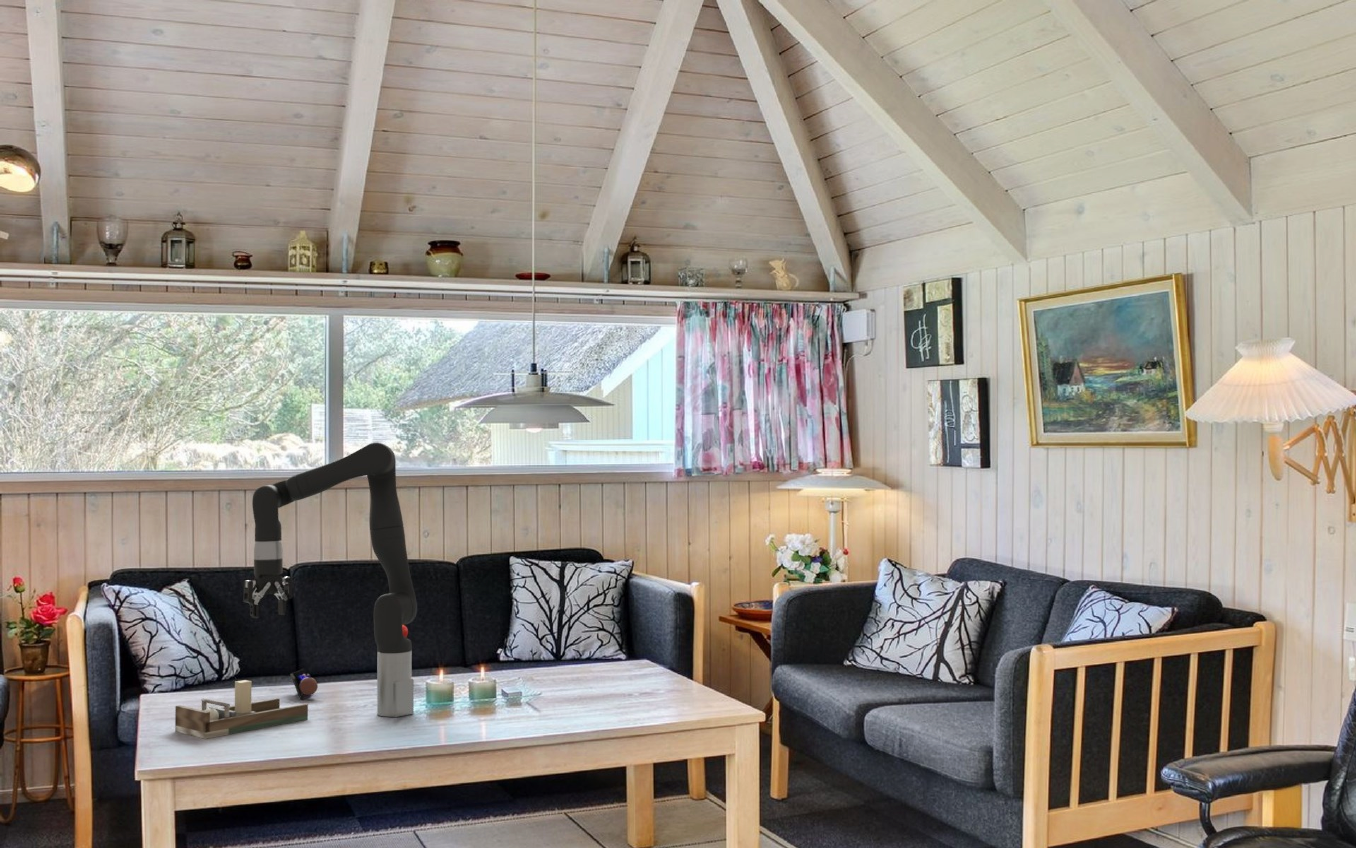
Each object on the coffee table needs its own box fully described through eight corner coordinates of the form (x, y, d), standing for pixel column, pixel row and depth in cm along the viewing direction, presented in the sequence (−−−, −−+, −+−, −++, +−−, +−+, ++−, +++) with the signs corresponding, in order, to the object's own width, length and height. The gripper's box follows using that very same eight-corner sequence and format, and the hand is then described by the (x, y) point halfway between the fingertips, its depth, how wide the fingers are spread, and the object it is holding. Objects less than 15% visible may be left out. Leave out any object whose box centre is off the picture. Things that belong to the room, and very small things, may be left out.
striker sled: (261, 719, 325) (261, 682, 326) (231, 724, 319) (232, 687, 319) (238, 714, 332) (238, 678, 332) (208, 719, 325) (208, 682, 326)
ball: (203, 718, 316) (212, 730, 318) (216, 705, 319) (225, 717, 321) (194, 716, 319) (203, 728, 321) (207, 703, 322) (216, 715, 324)
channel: (307, 719, 334) (307, 691, 335) (205, 738, 311) (205, 708, 311) (276, 712, 343) (277, 685, 344) (175, 731, 320) (175, 702, 320)
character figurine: (312, 692, 376) (317, 701, 362) (287, 692, 373) (291, 701, 359) (314, 666, 376) (319, 674, 362) (289, 666, 374) (293, 674, 360)
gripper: (253, 559, 334) (254, 620, 333) (298, 556, 345) (298, 614, 345) (237, 558, 338) (237, 618, 338) (282, 555, 350) (282, 613, 349)
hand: (268, 616), depth 341 cm, fingers open, 8 cm apart
